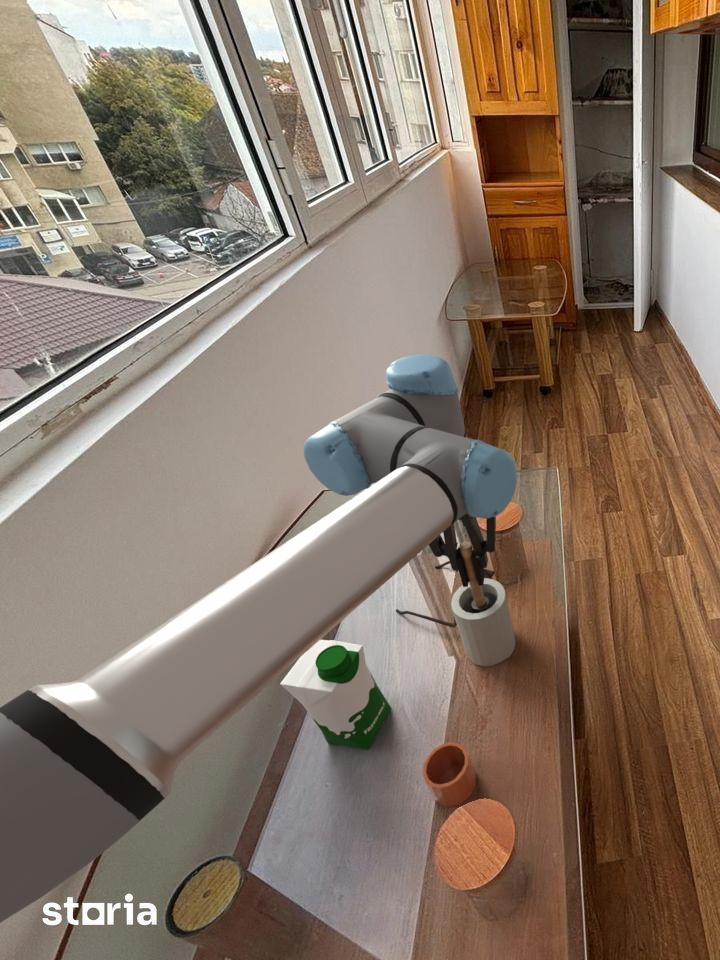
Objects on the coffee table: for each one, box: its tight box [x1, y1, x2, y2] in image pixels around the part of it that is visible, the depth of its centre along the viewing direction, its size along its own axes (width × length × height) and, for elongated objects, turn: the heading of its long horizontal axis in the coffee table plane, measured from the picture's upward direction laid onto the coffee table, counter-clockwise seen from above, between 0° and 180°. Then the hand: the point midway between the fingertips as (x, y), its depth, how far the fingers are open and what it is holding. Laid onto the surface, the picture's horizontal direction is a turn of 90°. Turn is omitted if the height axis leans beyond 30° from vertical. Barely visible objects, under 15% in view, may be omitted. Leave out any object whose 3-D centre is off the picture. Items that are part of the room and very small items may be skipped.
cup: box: [450, 578, 516, 667], centre depth 92 cm, size 9×9×14 cm
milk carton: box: [279, 638, 392, 751], centre depth 78 cm, size 9×9×20 cm
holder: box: [422, 741, 477, 808], centre depth 75 cm, size 6×6×7 cm
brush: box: [458, 540, 491, 613], centre depth 86 cm, size 3×3×20 cm
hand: (474, 579), depth 85 cm, fingers closed on brush, 2 cm apart
